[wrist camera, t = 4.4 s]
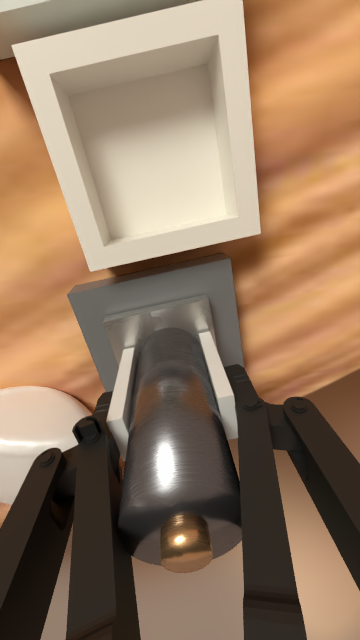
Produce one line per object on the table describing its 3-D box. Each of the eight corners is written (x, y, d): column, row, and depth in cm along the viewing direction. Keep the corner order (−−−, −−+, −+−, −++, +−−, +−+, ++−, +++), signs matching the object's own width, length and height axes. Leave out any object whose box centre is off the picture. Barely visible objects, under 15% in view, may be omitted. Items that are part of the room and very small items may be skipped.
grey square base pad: (119, 401, 24) (116, 421, 22) (75, 285, 20) (65, 296, 18) (240, 375, 24) (248, 392, 22) (223, 252, 20) (231, 259, 18)
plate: (133, 396, 21) (132, 404, 21) (105, 316, 19) (102, 322, 18) (220, 377, 21) (223, 385, 20) (205, 294, 19) (208, 299, 18)
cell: (146, 387, 20) (134, 605, 9) (131, 334, 18) (93, 531, 7) (205, 375, 20) (262, 580, 9) (195, 321, 18) (251, 499, 7)
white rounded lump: (-123, 428, 14) (28, 612, 14) (49, 342, 23) (143, 452, 23) (-124, 480, 20) (-18, 610, 19) (14, 395, 29) (89, 483, 28)
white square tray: (101, 259, 19) (90, 271, 16) (42, 78, 15) (11, 45, 12) (243, 227, 19) (260, 233, 16) (223, 35, 15) (241, -10, 12)
